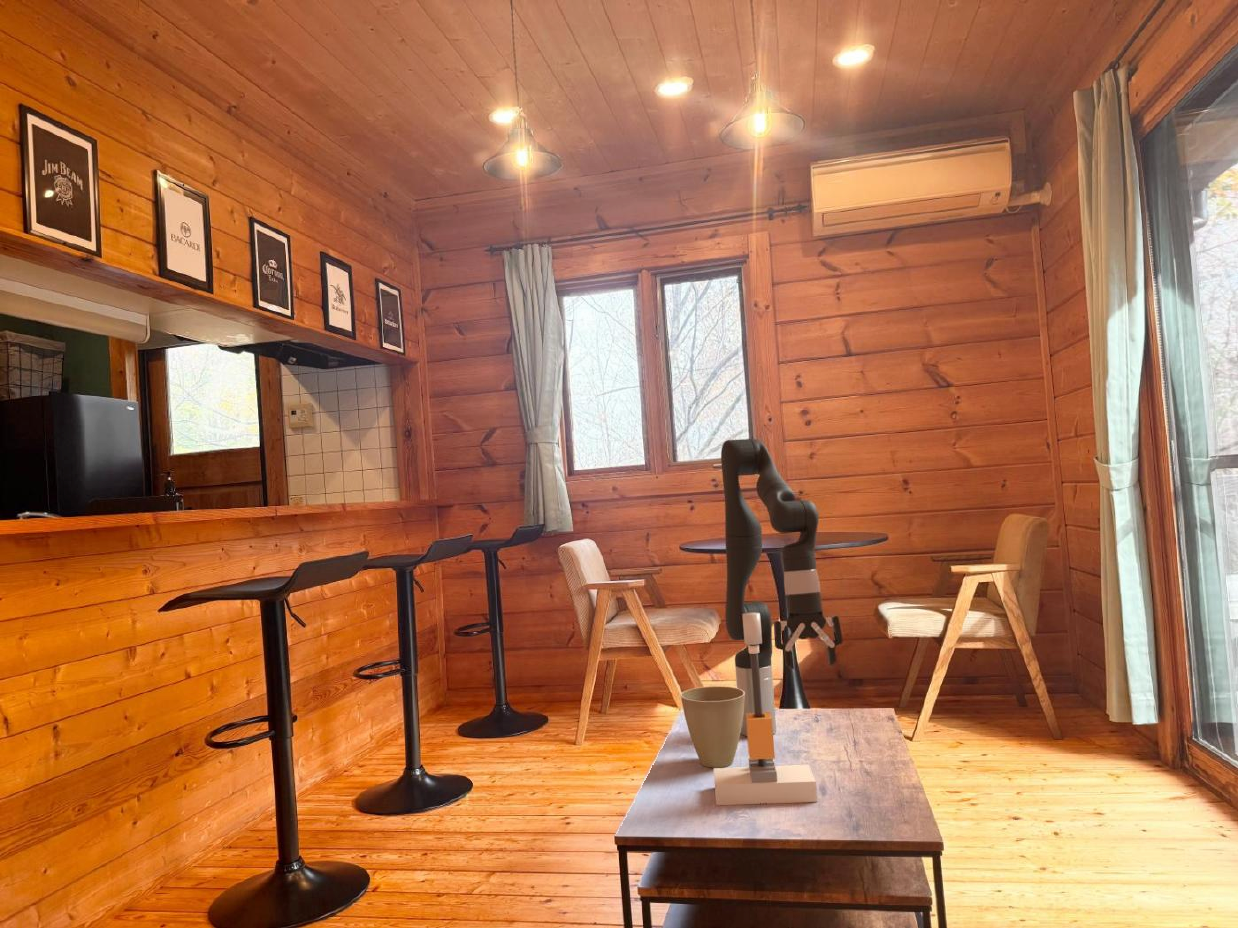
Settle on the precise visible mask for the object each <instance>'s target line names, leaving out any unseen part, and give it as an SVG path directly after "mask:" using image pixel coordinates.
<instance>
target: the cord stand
mask: <svg viewBox="0 0 1238 928" xmlns="http://www.w3.org/2000/svg"><path fill="white" fill-rule="evenodd" d="M743 628H744V640H743V641H744V644H745V645H747V646H748V650H749V653H750V658H751V671H752V685H753V699H754V713H755V718H763V715H762V701H761V687H760V674H759V660H758V653H759V645H757V644H761V643H762V634H761V620H760V613H755V612H752V613H744V614H743ZM713 779H714V780H713V781H714V793H715V795H714V796H715V806H733V805H735V806H737V804H738V805H754V804H755V805H761V804H762V805H763V803H764V804H765V803H767V804H787V803H789V804H791V803H792V804H793V803H796V804H797V803H818V796H817V794H818V793H817V781H816V779H815V776H814V775H813V772H812V769H811V767H810V764H797V765H795V764H794V765H791V764H790V765H775V761H774V759H751V760H750V757H749V758H748V766H742V767H741V766H740V767H717V768H715V767H713ZM760 803H761V804H760Z"/></svg>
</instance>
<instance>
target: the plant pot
mask: <svg viewBox="0 0 1238 928" xmlns="http://www.w3.org/2000/svg"><path fill="white" fill-rule="evenodd" d="M680 699H681V704H682V709H683V715H684V719H685V722H686V726H687V729H688V732H689V733H688V734H689V737H690V738H691V741H692V744H693V747H694V750H695V752H696V755H697V757H698V760H699V762H700V764H701V765H702V766H703V767H704V766H705V767H708V768H726V767H729V766H731V765H732V764H733V763H734V760H735V756H736V753H737V749H738V745H739V742H740V738H741V737H740V736H741V727H742V721H743V713H744V701H745V692H744V691H743V690H741V689H738V688H737V687H733V686H725V685H724V686H722V685H721V686H719V685H717V686H716V685H715V686H714V685H713V686H699V687H694V688H690V689H687V690H684V691H682V692H681V693H680Z"/></svg>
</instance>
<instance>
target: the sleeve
mask: <svg viewBox="0 0 1238 928" xmlns="http://www.w3.org/2000/svg"><path fill="white" fill-rule="evenodd" d="M762 715H763V718H755V713H746V724H747V736H746V737H747V750H748V757H749V758H750V760H751V759H773V760H775V759H776V754H775V753H776V752H775V741H774V734H773V726H772V717H771V714H770V712H763V713H762Z"/></svg>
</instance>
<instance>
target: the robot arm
mask: <svg viewBox="0 0 1238 928" xmlns="http://www.w3.org/2000/svg"><path fill="white" fill-rule="evenodd" d="M720 461H721V462H720V464H721V473H722V483H723V493H724V510H725V513H724V515H725V520H724V521H725V530H724V531H725V533H724V535H725V554H726V555H725V557H726V597H725V616H724V617H725V626H726V632H727V635H728V637H729V638H730V639H732V640H734V641H744V628H743V614H744V613H752V612H755V613H760V620H761V634H762V643H761V644H757V645H759V653H758V660H759V674H760V687H761V701H762V713H763V712H770V714H771V717H772V726H773V735H775V734H776V733H777V720H776V708H775V707H776V706H775V696H774V683H773V682H774V680H773V668H772V667H773V666H772V656H773V639H772V638H773V634H772V633H774V647H775V649H777V650H781V651H783V652H784V660H785V665H786V667H788V668H789V670H794V669H795V667H794V659H793V657H794V655H793V651H792V650H791V649H792V648H793V646H794V644H795V643H796V642H797V641H798V639H800V640H806V639H809V638H810V639H817V638H820V640H822V641H823V643H824V644H825V645H826V646H827V647H826V653H827V664H828V666H834V665H835V664H834V663H836V662H837V656H836V655H837V654H836V647H837V646H839V645H842V644H843V642H844V640H843V636H842V635H843V634H842V629H841V624H840V619H839V616H837V615H832V616H829V617H825V615H824V612H823V604H822V603H823V602H822V595H821V585H820V584H821V583H820V579H819V575H818V571H817V564H816V563H817V562H816V554H815V553H816V552H815V549H816V547H815V546H816V537H817V533H818V532H817V531H818V526H819V510H818V507H817V506H816V505H815V503H814V502H813V501H811V500H809V499H801V500H797V496H796V494H795V492H794V491H793V490H792V488H791V487H790V486H789V485H788V483H787V482H786V481H785V480H784V479H783V477H782V476H781V474H780V473H779V471H778V469H777V467H776V464H775V462H774V459H773V458H772V456H771V454H770V452H769V450H768V448H767V446H766V445H765V444H764V442H763V441H761V440H759V439H757V438H756V439H755V438H744V439H728V440H726V441H724V442H723V444H722V447H721V451H720ZM755 475H759V476H758V479H757V482H756V485H755V486H756V493H757V496H758V497H759V499H760V500H761V502H762V504H764V506H765V507H766V508H767V512H768V515H769V520H770V524H771V525H770V526H771V528H772V529H773V530H774V531H776V532H778V533H780V534H791V533H793V534H794V533H800V534H799V538H798V540H797V541H795V542H792V543H789V544H786V545H784V546H783V547H782V550H781V556H782V557H781V558H782V565H783V575H784V577H783V583H784V592H785V593H784V594H785V603H786V613H787V618H786V620H774V621H773V625H772V617H771V612H770V608H769V606H768V605H767V604H766V603H765V602H764V601H761V600H760V601H759V600H758V601H747V602H745V594H746V588H747V586H748V582H749V580H750V579H751V576H752V574H753V572H754V571H755V569H756V567H757V565H758V563H759V562H760V559H761V556H762V553H763V536H762V533H763V532H762V530H763V529H762V526H761V523H760V520H759V519H758V518H757V516H756V514H755V512H754V511H753V510H752V508H751V507H750V506H749V504H748V502H747V501H746V499H745V497H744V495H743V493H742V490H741V486H740V481H739V480H740V479H739V477H741V476H742V477H743V476H755ZM827 623H828V625H829V627H831V628H832V631H833V632H832V633H833V637H834V639H831V638H830V637H829V635H827V633H825V631H824V630H823V629H824V627H825V626H826V624H827ZM772 626H773V627H772ZM785 627H787V628H788V629H789V630H790V631H791V632H790V634H789V636H788V637H787V640H786V642H785V643H782V642H783V641H782V632H783V631H784V630H785ZM772 628H773V630H774V631H772ZM734 665H735V666H734V667H735V679H736V688H738V689H741V690H743V691H744V692H745V701H744V713H743V721H742V727H741V733H740V735H742V736H745V737H747V724H746V713H754V699H753V685H752V671H751V658H750V653H749V650H748V645H747V646H746V647H745V648H743V649H742V650H740V651H738V652H737V653H736V654H735V655H734Z"/></svg>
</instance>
